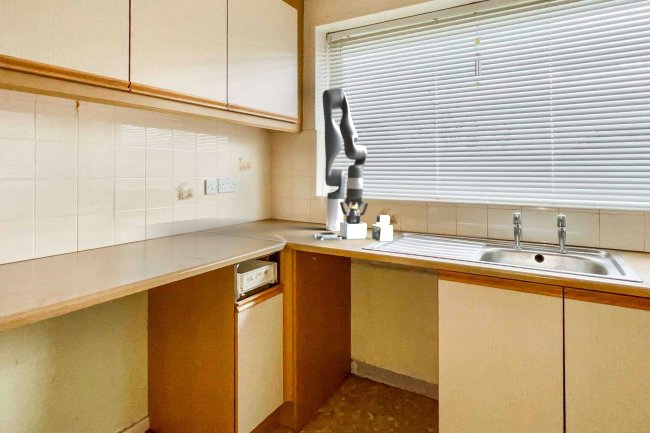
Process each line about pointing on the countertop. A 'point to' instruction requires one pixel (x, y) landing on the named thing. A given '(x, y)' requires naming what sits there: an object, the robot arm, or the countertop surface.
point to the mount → (327, 236)
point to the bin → (353, 230)
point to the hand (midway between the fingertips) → (353, 223)
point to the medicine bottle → (382, 229)
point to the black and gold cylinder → (353, 214)
